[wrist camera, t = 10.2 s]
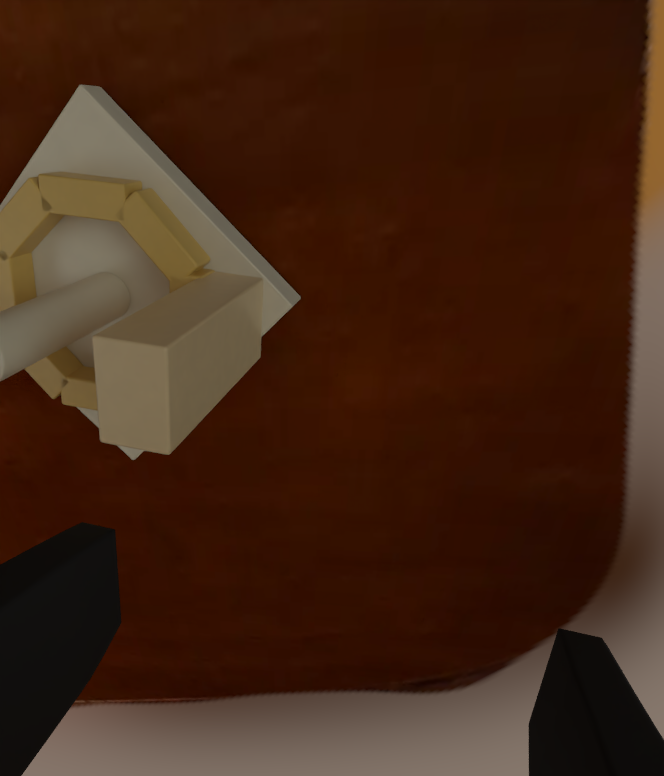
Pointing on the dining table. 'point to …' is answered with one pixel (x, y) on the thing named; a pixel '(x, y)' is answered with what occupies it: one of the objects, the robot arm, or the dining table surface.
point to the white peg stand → (113, 242)
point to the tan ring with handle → (138, 315)
